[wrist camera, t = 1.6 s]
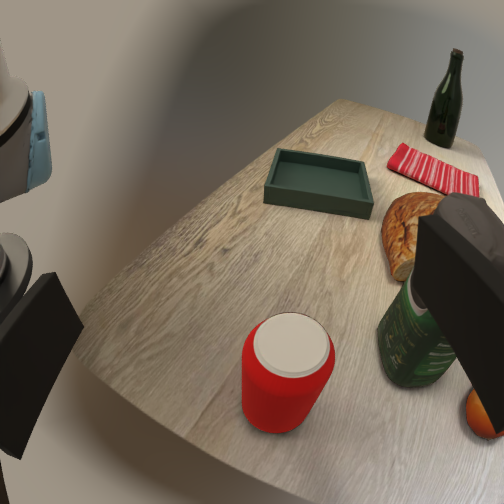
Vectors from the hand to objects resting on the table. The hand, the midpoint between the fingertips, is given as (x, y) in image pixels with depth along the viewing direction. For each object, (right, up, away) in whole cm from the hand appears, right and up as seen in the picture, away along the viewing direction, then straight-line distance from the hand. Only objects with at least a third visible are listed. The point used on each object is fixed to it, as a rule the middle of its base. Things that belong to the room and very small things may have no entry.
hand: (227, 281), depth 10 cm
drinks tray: (+13, +13, +45) cm, 49 cm away
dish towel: (+44, +19, +53) cm, 72 cm away
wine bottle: (+61, +37, +74) cm, 103 cm away
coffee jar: (+18, -10, +21) cm, 29 cm away
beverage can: (+3, -13, +17) cm, 22 cm away
